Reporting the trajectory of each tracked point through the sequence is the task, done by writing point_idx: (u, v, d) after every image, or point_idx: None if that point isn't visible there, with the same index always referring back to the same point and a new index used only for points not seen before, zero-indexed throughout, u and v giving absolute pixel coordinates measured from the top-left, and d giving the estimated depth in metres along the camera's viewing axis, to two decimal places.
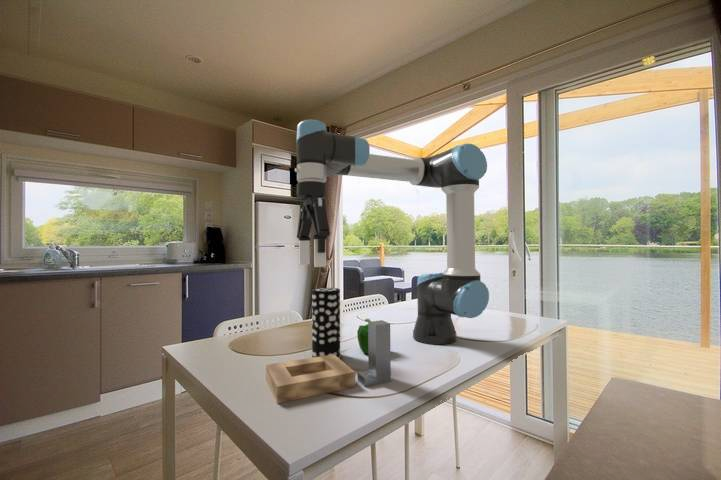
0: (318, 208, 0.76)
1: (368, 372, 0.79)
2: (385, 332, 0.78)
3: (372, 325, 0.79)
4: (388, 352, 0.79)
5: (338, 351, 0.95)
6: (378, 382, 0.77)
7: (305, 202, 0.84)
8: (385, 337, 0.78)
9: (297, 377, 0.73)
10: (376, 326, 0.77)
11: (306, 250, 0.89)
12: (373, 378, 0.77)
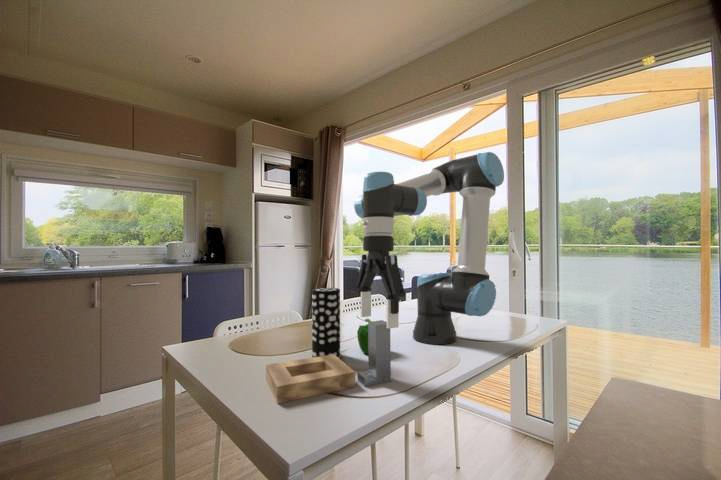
0: (391, 266, 0.73)
1: (368, 372, 0.79)
2: (385, 332, 0.78)
3: (372, 325, 0.79)
4: (388, 352, 0.79)
5: (338, 351, 0.95)
6: (378, 382, 0.77)
7: (371, 255, 0.81)
8: (385, 337, 0.78)
9: (297, 377, 0.73)
10: (376, 326, 0.77)
11: (368, 302, 0.86)
12: (373, 378, 0.77)
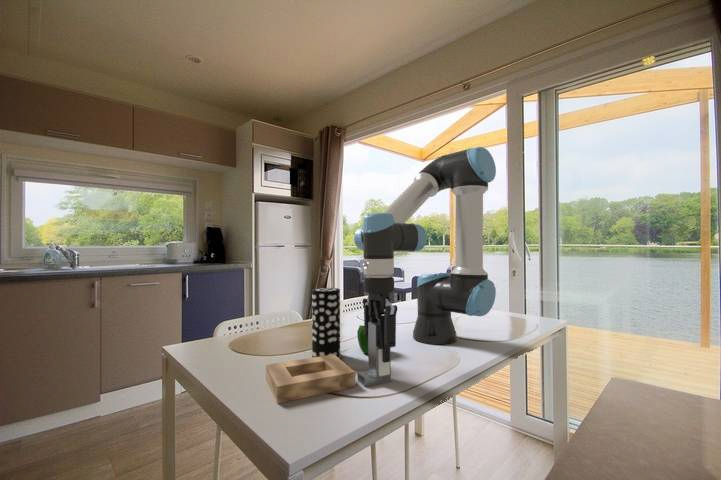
0: (389, 318, 0.74)
1: (368, 372, 0.79)
2: None
3: (372, 325, 0.79)
4: None
5: (338, 351, 0.95)
6: (378, 382, 0.77)
7: (370, 292, 0.82)
8: None
9: (297, 377, 0.73)
10: (376, 326, 0.77)
11: None
12: (373, 378, 0.77)
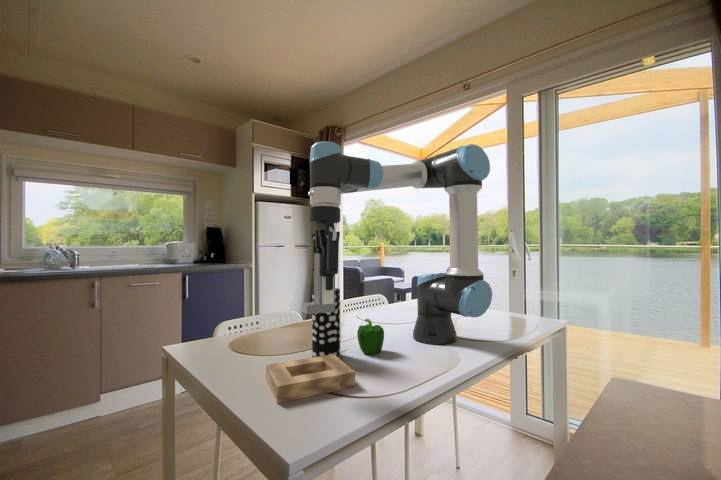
0: (331, 243, 0.74)
1: (312, 303, 0.79)
2: None
3: (317, 255, 0.78)
4: None
5: (338, 351, 0.95)
6: (321, 311, 0.77)
7: (317, 225, 0.81)
8: None
9: (297, 377, 0.73)
10: (320, 254, 0.77)
11: None
12: (316, 306, 0.76)
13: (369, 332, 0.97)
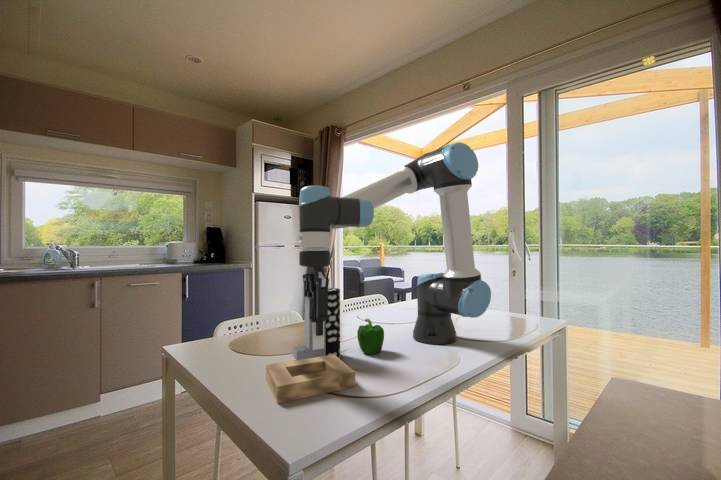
0: (320, 290, 0.74)
1: (303, 346, 0.79)
2: None
3: (307, 299, 0.78)
4: None
5: (338, 351, 0.95)
6: (311, 356, 0.77)
7: (307, 267, 0.81)
8: None
9: (297, 377, 0.73)
10: (310, 299, 0.77)
11: None
12: (306, 352, 0.76)
13: (369, 332, 0.97)
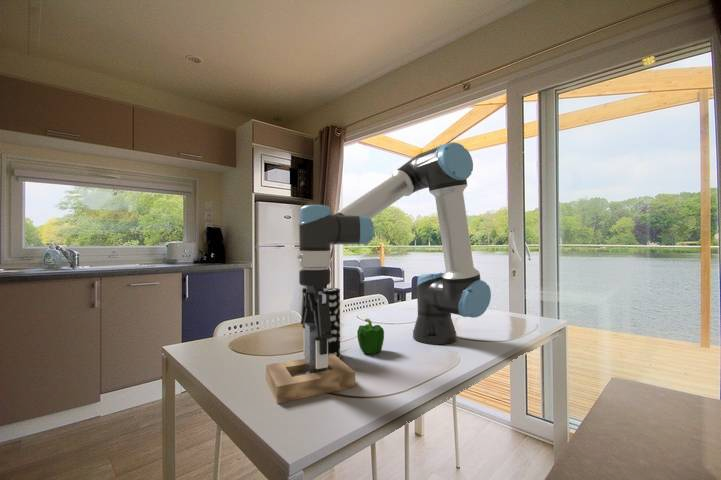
0: (321, 307, 0.73)
1: (303, 374, 0.78)
2: None
3: (307, 326, 0.78)
4: None
5: (338, 351, 0.95)
6: None
7: (308, 286, 0.81)
8: None
9: (297, 377, 0.73)
10: (310, 327, 0.77)
11: None
12: None
13: (369, 332, 0.97)
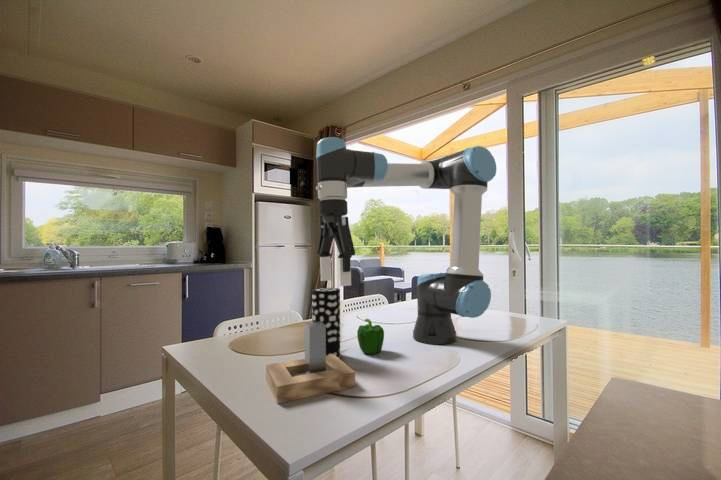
0: (342, 227, 0.76)
1: (303, 374, 0.78)
2: (320, 333, 0.78)
3: (307, 326, 0.78)
4: (323, 354, 0.78)
5: (338, 351, 0.95)
6: None
7: (326, 219, 0.84)
8: (320, 338, 0.78)
9: (297, 377, 0.73)
10: (310, 327, 0.77)
11: (327, 266, 0.89)
12: None
13: (369, 332, 0.97)
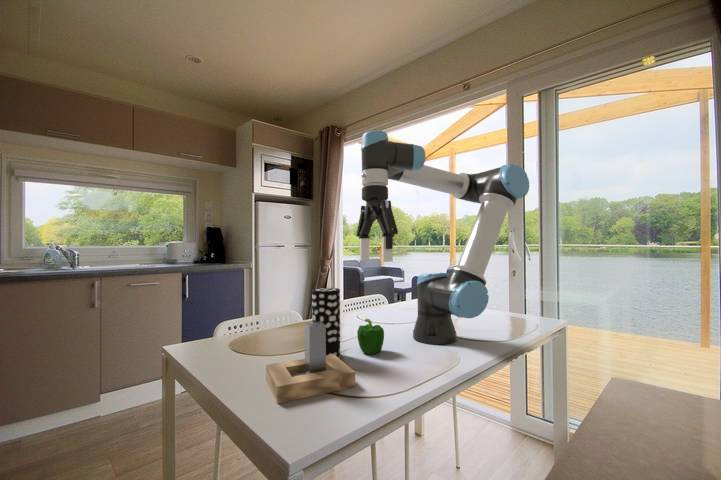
0: (386, 209, 0.86)
1: (303, 374, 0.78)
2: (320, 333, 0.78)
3: (307, 326, 0.78)
4: (323, 354, 0.78)
5: (338, 351, 0.95)
6: None
7: (368, 204, 0.94)
8: (320, 338, 0.78)
9: (297, 377, 0.73)
10: (310, 327, 0.77)
11: (366, 247, 0.98)
12: None
13: (369, 332, 0.97)
